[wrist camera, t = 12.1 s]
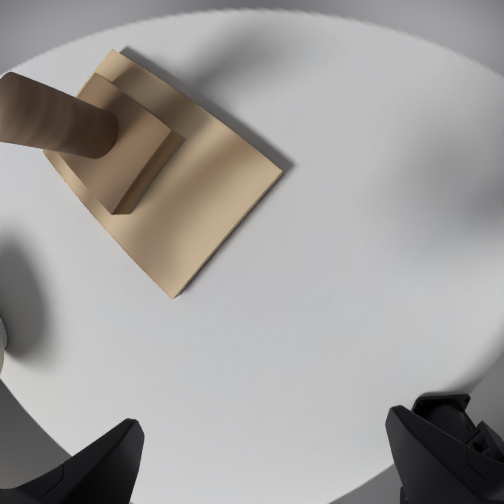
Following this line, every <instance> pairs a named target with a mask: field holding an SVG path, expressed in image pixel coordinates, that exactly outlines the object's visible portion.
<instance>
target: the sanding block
mask: <svg viewBox="0 0 504 504" xmlns="http://www.w3.org/2000/svg"><path fill="white" fill-rule="evenodd" d="M185 140H186V139H185V138H184V137H183V136H182V135H180V134H179V133H178V132H176V131H175V130H174V129H173V128H171V127H170V126H169V125H168V124H166V123H165V122H164V121H163V120H161V119H160V118H159V117H157V116H156V115H155V114H154V113H152V112H151V111H150V110H148V109H147V108H146V107H144V106H143V105H142V104H141V103H139V102H138V101H137V100H135V99H134V98H133V97H131V96H130V95H129V94H127V93H126V92H125V91H123V90H122V89H121V88H119V87H118V86H117V85H115V84H114V83H112V82H111V81H109V80H108V79H106V78H104V77H103V76H101V75H99V74H98V73H96V72H95V73H94V74H93V76H92V77H91V78H90V80H89V81H88V82H87V84H86V85H85V87H84V88H83V89H82V91H81V92H80V94H79V95H78V96H77V98H76V97H73V96H71V95H69V94H66V93H64V92H62V91H59V90H57V89H54V88H52V87H50V86H47V85H45V84H42V83H40V82H37V81H35V80H32V79H29V78H27V77H24V76H22V75H19V74H16V73H14V72H9V73H7V74H5V75H4V76H3V77H2V78H1V79H0V142H6V143H12V144H18V145H24V146H29V147H35V148H40V149H46V150H51V151H56V152H57V153H58V154H59V155H60V157H61V158H62V159H63V160H64V161H65V163H66V164H67V165H68V166H69V167H70V169H71V170H72V171H73V172H74V173H75V175H76V176H77V177H78V178H79V179H80V180H81V182H82V183H83V184H84V185H85V186H86V187H87V189H88V190H89V191H90V192H91V193H92V194H93V195H94V196H95V198H96V199H97V200H98V201H99V202H100V203H101V204H102V205H103V206H104V208H105V209H106V210H107V211H108V212H109V213H110V214H111V215H128V214H131V213H132V211H133V210H134V208H135V207H136V205H137V204H138V202H139V201H140V199H141V198H142V197H143V195H144V194H145V192H146V191H147V190H148V188H149V187H150V185H151V184H152V183H153V181H154V180H155V179H156V177H157V176H158V175H159V173H160V172H161V171H162V169H163V168H164V167H165V165H166V164H167V163H168V161H169V160H170V159H171V158H172V156H173V155H174V154H175V152H176V151H177V150H178V149H179V147H180V146H181V145H182V144H183V143H184V141H185Z"/></svg>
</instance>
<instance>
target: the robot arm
mask: <svg viewBox="0 0 504 504" xmlns="http://www.w3.org/2000/svg"><path fill="white" fill-rule="evenodd" d="M465 399H466V400H465ZM470 399H471V398H470V396H469V395H468V394H463V395H452V396H437V397H420V398H418V399H417V400H416V401H415V403H414V406H413V408H412V410H411V411H410V410H408V409H407V408H405V407H404V406H402V405H398V406H394V407H391V408H390V410H389V413H388V416H387V419H386V423H385V426H386V431H387V435H388V439H389V443H390V447H391V452H392V456H393V460H394V463H395V465H396V468H397V471H398V474H399V476H400V479H401V482H402V484H403V486H402V487H401V490H400V491H401V492H400V504H504V441H503V440H502V438H501V437H500V436H499V435H498V434H497V433H496V432H495V431H494V430H492V429H491V428H490V427H489V426H488V425H487V424H486V423H484V422H483V421H481V422H480V423H479V424H478V425H477V427H475V425H474V424H473V422H472V421H471V419H470V418H469V417H468V415H467V414H466V412H465V409H466V407H467V405H468V403H469V401H470ZM420 402H421V403H420ZM419 403H420V404H419ZM143 444H144V432H143V430H142V428H141V426H140V424H139V422H138V421H137V420H136V419H130V418H127V419H125V420H124V421H122V422H121V423H119V424H118V425H117V426H115V427H114V428H113V429H111V430H110V431H108V432H107V433H106V434H104V435H103V436H101V437H100V438H99V439H97V440H96V441H94V442H93V443H91V444H90V445H89V446H87V447H86V448H84V449H83V450H81V451H80V452H78V453H77V454H75V455H74V456H72V457H71V458H70V459H68V460H66V461H65V462H64V463H63V464H60V465H59V466H57V467H56V468H54V469H52V470H51V471H49V472H47V473H45V474H44V475H42V476H40V477H38V478H36V479H34V480H31V481H29V482H27V483H25V484H23V485H20V486H18V487H16V488H11V489H0V504H129V502H130V498H131V495H132V492H133V488H134V485H135V482H136V478H137V475H138V471H139V467H140V461H141V455H142V450H143Z"/></svg>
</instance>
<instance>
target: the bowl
mask: <svg viewBox="0 0 504 504" xmlns="http://www.w3.org/2000/svg"><path fill="white" fill-rule="evenodd" d="M6 345H7V334H6V329H5V326H4V323H3V321H2V319H1V317H0V374H1V371H2V367H3V362H4V348H5V347H6Z"/></svg>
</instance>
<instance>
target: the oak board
mask: <svg viewBox="0 0 504 504" xmlns="http://www.w3.org/2000/svg"><path fill="white" fill-rule="evenodd" d="M95 72H96V73H98V74H99V75H101V76H103V77H104V78H106V79H108V80H109V81H111V82H112V83H114V84H115V85H117V86H118V87H119V88H121V89H122V90H123V91H125V92H126V93H127V94H129V95H130V96H131V97H133V98H134V99H135V100H137V101H138V102H139V103H141V104H142V105H143V106H144V107H146V108H147V109H148V110H150V111H151V112H152V113H154V114H155V115H156V116H157V117H159V118H160V119H161V120H163V121H164V122H165V123H166V124H168V125H169V126H170V127H171V128H173V129H174V130H175V131H176V132H178V133H179V134H180V135H182V136H183V137H184V138H185V139H186V140H185V141H184V143H183V144H182V145H181V146H180V147H179V149H178V150H177V151H176V152H175V154H174V155H173V156H172V158H171V159H170V160H169V161H168V163H167V164H166V165H165V167H164V168H163V169H162V171H161V172H160V173H159V175H158V176H157V177H156V179H155V180H154V181H153V183H152V184H151V185H150V187H149V188H148V190H147V191H146V192H145V194H144V195H143V197H142V198H141V199H140V201H139V202H138V204H137V205H136V207H135V208H134V210H133V211H132V213H131V214H128V215H111V214H110V213H109V212H108V211H107V210H106V209H105V208H104V206H103V205H102V204H101V203H100V202H99V201H98V200H97V199H96V198H95V196H94V195H93V194H92V193H91V192H90V191H89V190H88V189H87V187H86V186H85V185H84V184H83V183H82V182H81V180H80V179H79V178H78V177H77V176H76V175H75V173H74V172H73V171H72V170H71V169H70V167H69V166H68V165H67V164H66V163H65V161H64V160H63V159H62V158H61V157H60V155H59V154H58V153H57V152H56V151H51V150H46V149H44V150H43V153H44V154H45V156H46V157H47V158H48V160H49V161H50V163H51V164H52V165H53V166H54V168H55V169H56V170H57V172H58V173H59V174H60V176H61V177H62V178H63V179H64V181H65V182H66V183H67V185H68V186H69V187H70V188H71V190H72V191H73V192H74V193H75V195H76V196H77V197H78V198H79V199H80V201H81V202H82V203H83V204H84V205H85V207H86V208H87V209H88V210H89V211H90V213H91V214H92V215H93V216H94V217H95V218H96V220H97V221H98V222H99V223H100V224H101V225H102V226H103V228H104V229H105V230H106V231H107V232H108V233H109V234H110V235H111V237H112V238H113V239H114V240H115V241H116V242H117V243H118V244H119V245H120V246H121V248H122V249H123V250H124V251H125V252H126V253H127V254H128V255H129V256H130V257H131V258H132V259H133V260H134V261H135V262H136V264H137V265H138V266H139V267H140V268H141V269H142V270H143V271H144V272H145V273H146V274H147V275H148V276H149V277H150V278H151V279H152V280H153V281H154V282H155V283H156V284H157V285H158V286H159V287H160V288H161V289H162V290H163V291H164V292H165V293H166V294H167V295H168V296H169V297H170V298H171V299H172V300H173V299H174V298H176V297H177V296H178V295H179V294H180V293H181V292H182V290H183V289H184V288H185V287H186V285H187V284H188V283H189V282H190V281H191V279H192V278H193V277H194V276H195V275H196V273H197V272H198V271H199V270H200V269H201V267H202V266H203V265H204V264H205V263H206V262H207V260H208V259H209V258H210V257H211V256H212V254H213V253H214V252H215V251H216V250H217V249H218V247H219V246H220V245H221V244H222V243H223V241H224V240H225V239H226V238H227V237H228V236H229V234H230V233H231V232H232V231H233V230H234V229H235V227H236V226H237V225H238V224H239V223H240V222H241V220H242V219H243V218H244V217H245V216H246V215H247V214H248V212H249V211H250V210H251V209H252V208H253V207H254V206H255V204H256V203H257V202H258V201H259V200H260V199H261V198H262V196H263V195H264V194H265V193H266V192H267V191H268V190H269V188H270V187H271V186H272V185H273V184H274V183H275V182H276V181H277V179H278V178H279V177H280V176H281V175H282V174H283V172H282V170H280V169H279V168H278V167H277V166H276V165H274V164H273V163H272V162H271V161H270V160H268V159H267V158H266V157H265V156H264V155H262V154H261V153H260V152H259V151H257V150H256V149H255V148H254V147H252V146H251V145H250V144H249V143H247V142H246V141H245V140H244V139H242V138H241V137H240V136H239V135H237V134H236V133H235V132H233V131H232V130H231V129H230V128H228V127H227V126H226V125H224V124H223V123H222V122H220V121H219V120H218V119H216V118H215V117H214V116H212V115H211V114H210V113H208V112H207V111H205V110H204V109H203V108H201V107H200V106H199V105H197V104H196V103H194V102H193V101H192V100H190V99H189V98H187V97H186V96H185V95H183V94H182V93H180V92H179V91H177V90H176V89H174V88H173V87H171V86H170V85H168V84H167V83H166V82H164V81H163V80H161V79H160V78H158V77H156V76H155V75H153V74H152V73H150V72H149V71H147V70H146V69H144V68H143V67H141V66H139V65H138V64H136V63H135V62H133V61H131V60H130V59H128V58H126V57H125V56H123V55H121V54H120V53H118V52H116V51H115V50H113V49H112V50H111V51H110V52H109V54H108V55H107V56H106V57H105V58H104V60H103V61H102V62H101V63H100V65H99V66H98V67H97V68H96V70H95V71H94V72H93V73H92V75H91V76H90V77H89V79H88V80H87V81H86V83H85V84H84V86H83V87H82V88H81V90H80V91H79V93H78V94H77V95H76V98H77V96H78V95H79V94H80V92H81V91H82V89H83V88H84V87H85V85H86V84H87V82H88V81H89V80H90V78H91V77H92V76H93V74H94V73H95Z"/></svg>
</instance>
